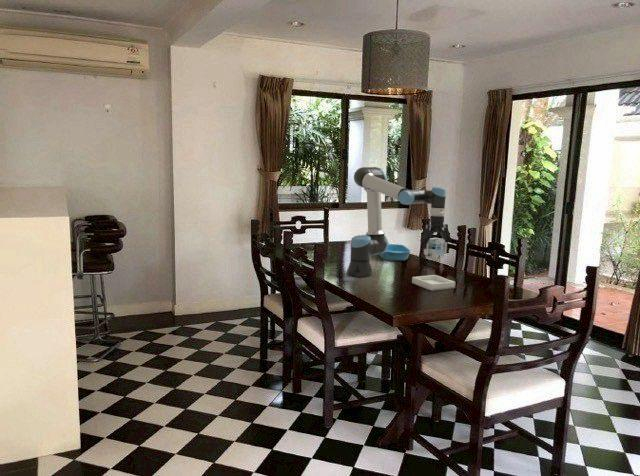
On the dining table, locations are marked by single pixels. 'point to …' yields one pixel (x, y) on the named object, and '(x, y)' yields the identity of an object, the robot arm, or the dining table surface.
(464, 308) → the dining table surface
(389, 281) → the dining table surface
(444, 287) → the tray
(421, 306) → the dining table surface
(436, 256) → the light bulb box
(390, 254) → the casserole dish
